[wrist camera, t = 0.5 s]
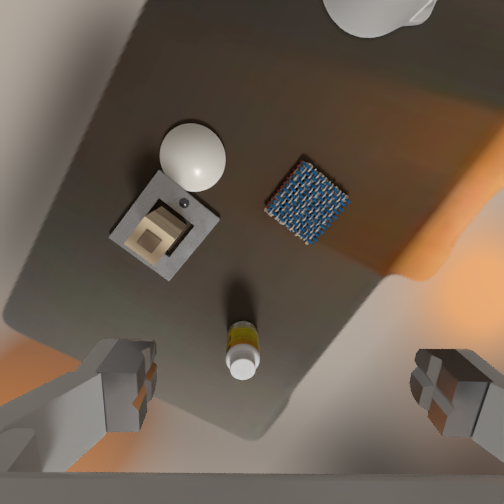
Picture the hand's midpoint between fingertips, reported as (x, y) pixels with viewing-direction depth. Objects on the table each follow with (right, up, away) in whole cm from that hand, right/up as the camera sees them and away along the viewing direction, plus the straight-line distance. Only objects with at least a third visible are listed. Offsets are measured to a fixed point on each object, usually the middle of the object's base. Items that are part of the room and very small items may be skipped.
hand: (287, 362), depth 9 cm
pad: (-10, +18, +38) cm, 43 cm away
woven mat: (+8, +12, +41) cm, 43 cm away
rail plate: (-15, +7, +41) cm, 44 cm away
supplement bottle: (-3, -12, +47) cm, 49 cm away
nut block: (-15, +7, +41) cm, 44 cm away
